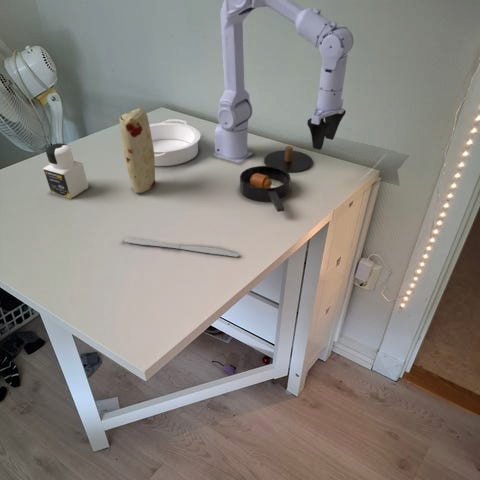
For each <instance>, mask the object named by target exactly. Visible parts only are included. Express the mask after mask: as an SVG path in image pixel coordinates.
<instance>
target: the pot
mask: <svg viewBox="0 0 480 480" xmlns="http://www.w3.org/2000/svg"><path fill="white" fill-rule="evenodd" d="M179 122H181V123H179ZM149 126H150V131H151V137H152V143H153V148H154V159H155V167H170V166H176V165H181V164H183V163H187V162H189V161H191V160H193V159H194V158H195V157H196V156H197V155H198V153H199V145H198V144H199V143H198V142H199V141H200V140H201V131H199V130H198V129H197V128H195V127H194V126H192V125H189V124H188V122H187V120H184V119H177V118H176V119H175V118H174V119H172V118H171V119H170V118H169V119H166V120H164V121H162V122H157V123H151V124H150V123H149Z"/></svg>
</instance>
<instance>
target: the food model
mask: <svg viewBox="0 0 480 480" xmlns="http://www.w3.org/2000/svg"><path fill="white" fill-rule="evenodd" d="M118 118H119V126H120V135H121V140H122V149H123V156H124V160H125V165H126V168H127V173H128V176H129V181H130V184H131V186H132V190H133V191H134V192H135V193H136V194H140V193H141V194H142V193H145V192H147V191H149V190H151V189H152V188H153V187H154V186H155V184H156V166H155V159H154V148H153V143H152V137H151V131H150V126H149V125H150V122H149V118H148V114H147V112H146V110H145V109H144V108H143V107H142V108H140V107H138V108H135V109H133V110H131V111H127V112H123V113H121V114H120V115H119V117H118Z"/></svg>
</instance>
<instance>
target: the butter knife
mask: <svg viewBox="0 0 480 480" xmlns="http://www.w3.org/2000/svg"><path fill="white" fill-rule="evenodd" d="M123 240H124V242H126V243H129V244H135V245H140V246H141V245H142V246H148V247H159V248H160V247H161V248H170V249H178V250H185V251H186V250H187V251H192V252H199V253H205V254H206V253H207V254H214V255H221V256H228V257H235V258H238V257H240V254H239V253H235V252H232V251H229V250H225V249H222V248H218V247H211V246H210V247H207V246H201V245H200V246H198V245H197V246H196V245H181V244H173V243H164V242H160V241H155V240H150V239H144V238H136V237H125V238H124V239H123Z"/></svg>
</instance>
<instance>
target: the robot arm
mask: <svg viewBox="0 0 480 480" xmlns="http://www.w3.org/2000/svg"><path fill="white" fill-rule="evenodd" d="M257 8H269V9H271V10H272V11H274V12H275V13H277V14H278V15H279V16H281V17H283V18H284V19H286V20H288V21H289V22H290V23H292V24H294V25H295V29H296V30H295V31H296V32H297V35H299V36H300V37H302V38H303V39H304V40H305V41H307V42H308V43H310V45H312V46H314V47H315V48H316V49H318V51H319V54H320V57H321V58H322V60H321V68H320V74H319V82H318V83H319V84H318V91H317V93H318V94H317V100H316V106H315V108H314V112H313V114H312V115H311V117H310V118H308V120H307V122H306V124H307V127H308V128H309V131H310V135H311V144H312V149H314V150H318V151H321V150H322V148H323V146H324V142H325V139H327V140H330V141H333V140H334V138H335V136H336V134H337V132H338V131H337V130H338V128H339V125H340V123H341V121H342V119H343V118H344V117H345V115H346V113H347V112H346V110H345V109H344V108H343V105H344V99H343V98H342V97H343V89H344V83H345V76H346V71H347V63H348V62H347V61H348V54H349V53H350V52H351V50H352V48H353V46H354V37H353V33H352V32H351V30H350V29H349V28H348V27H347V26H345V25H340V26H338V23H337V22H336V21H331V20H330V19H328V18H327V17H325V16H324V15H323V14H321V13H322V10H321V9H320V8H319V7H315V8H313V7H308V8H306V9H304V8H303V7H302V6H300V5H299V4H298V3H297V2H296V1H295V0H223V2H222V6H221V9H220V15H219V16H220V32H221V33H220V34H221V50H222V66H223V82H224V83H223V84H224V91H223V93H222V95H221V97H220V99H219V102H218V103H219V104H218V105H219V107H218V111H217V121H218V124H217V125H216V126H215V130H214V154H213V156H215V157H218V158H222V159H226V160H229V161H233V162H236V163H241V162H242V161H244V160H245V159H247V158H248V157H249V156H251V155H252V154H254V152H252V151H249V150H248V126H249V125H248V124H249V120H250V119H251V117H252V116H253V105H252V104H251V99H250V93H249V92H248V91H247V90H246V89H245V63H244V60H245V57H244V29H243V28H244V26H243V23H244V20H245V19H247V17H248V16H249V15H250V14H251V12H252V11H254V10H256V9H257Z"/></svg>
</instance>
